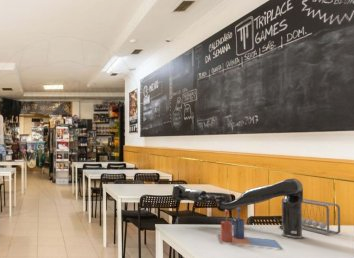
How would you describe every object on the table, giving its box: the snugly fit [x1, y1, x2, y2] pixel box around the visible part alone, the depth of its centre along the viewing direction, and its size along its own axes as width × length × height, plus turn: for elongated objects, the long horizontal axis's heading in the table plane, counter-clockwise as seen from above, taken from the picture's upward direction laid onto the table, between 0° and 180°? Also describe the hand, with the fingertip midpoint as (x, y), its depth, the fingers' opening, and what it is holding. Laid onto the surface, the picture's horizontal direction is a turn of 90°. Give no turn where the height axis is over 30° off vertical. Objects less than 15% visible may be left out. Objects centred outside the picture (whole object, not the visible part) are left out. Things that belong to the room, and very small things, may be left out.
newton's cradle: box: [281, 197, 341, 236], centre depth 214 cm, size 30×10×18 cm, turn 18°
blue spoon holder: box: [232, 207, 245, 239], centre depth 189 cm, size 6×6×17 cm
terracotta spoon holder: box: [220, 210, 233, 243], centre depth 182 cm, size 6×6×17 cm
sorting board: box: [218, 233, 282, 249], centre depth 183 cm, size 16×28×1 cm, turn 69°
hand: (220, 200), depth 199 cm, fingers open, 8 cm apart
